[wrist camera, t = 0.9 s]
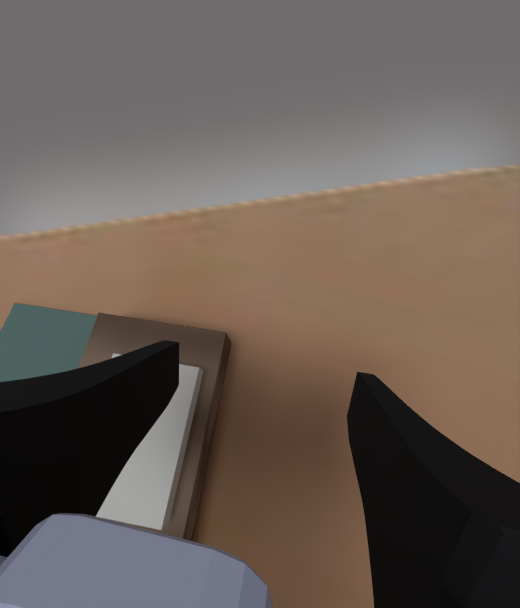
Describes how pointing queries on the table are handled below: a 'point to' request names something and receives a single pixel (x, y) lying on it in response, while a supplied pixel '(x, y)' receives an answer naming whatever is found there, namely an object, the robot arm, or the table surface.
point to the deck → (212, 360)
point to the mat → (42, 341)
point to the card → (156, 462)
